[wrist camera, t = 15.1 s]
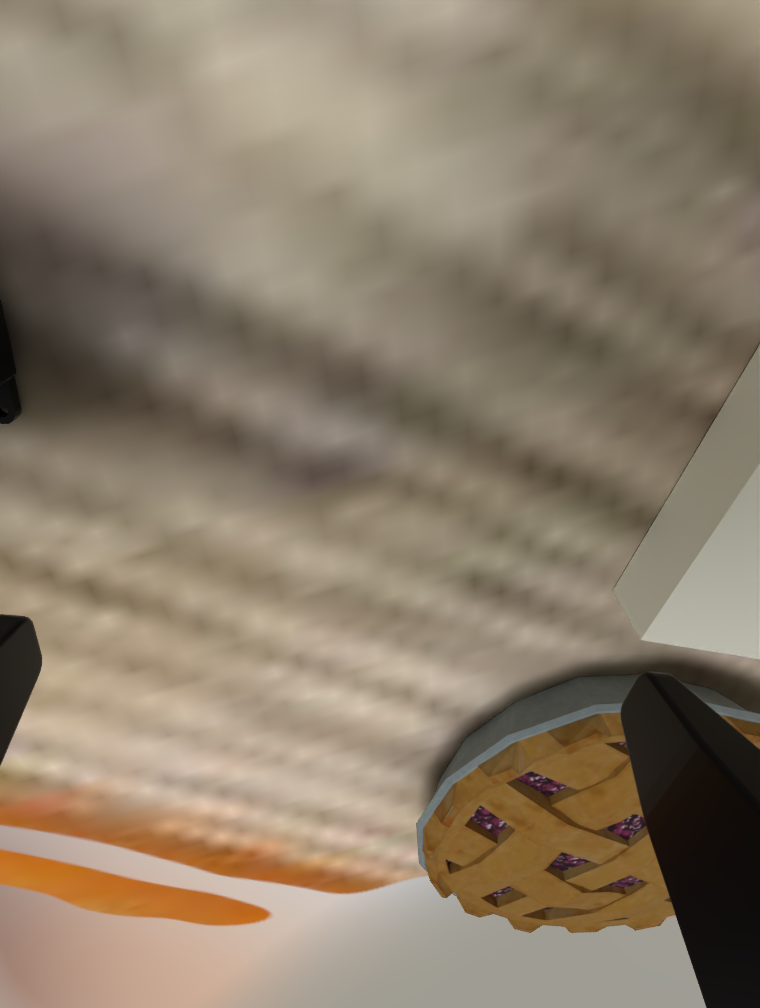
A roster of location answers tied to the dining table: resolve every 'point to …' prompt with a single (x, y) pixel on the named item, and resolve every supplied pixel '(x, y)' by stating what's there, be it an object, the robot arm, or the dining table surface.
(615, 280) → the dining table surface
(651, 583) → the stand
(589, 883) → the pie
